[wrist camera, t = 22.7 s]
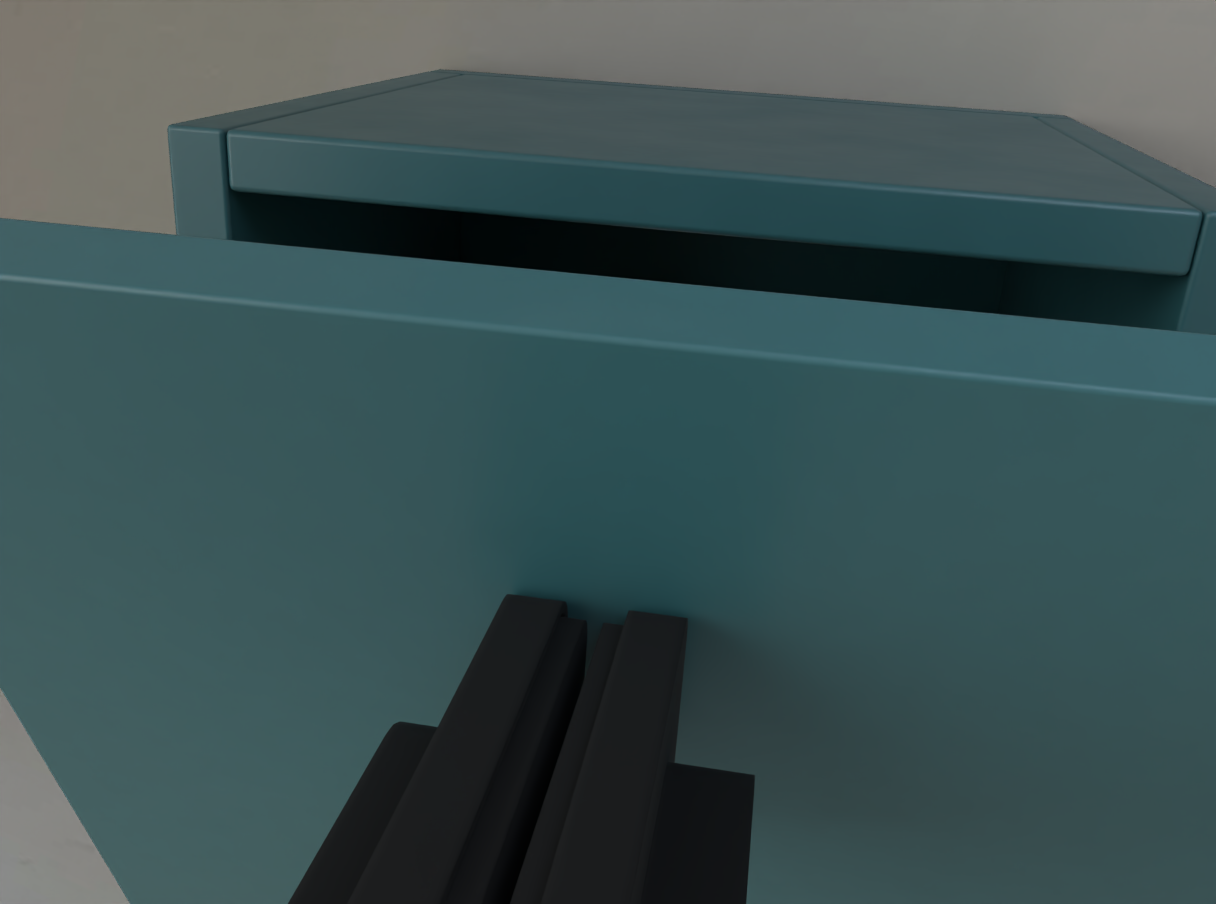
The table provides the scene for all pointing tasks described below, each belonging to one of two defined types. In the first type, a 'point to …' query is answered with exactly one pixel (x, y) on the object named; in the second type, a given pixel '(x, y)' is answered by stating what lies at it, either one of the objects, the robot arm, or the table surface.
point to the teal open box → (716, 193)
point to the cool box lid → (607, 556)
